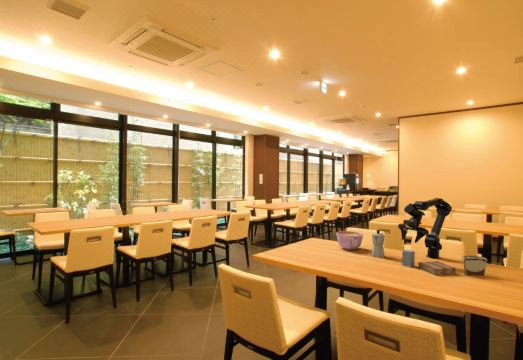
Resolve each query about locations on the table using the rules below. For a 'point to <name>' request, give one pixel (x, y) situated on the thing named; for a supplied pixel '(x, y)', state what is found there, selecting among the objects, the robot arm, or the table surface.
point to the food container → (474, 265)
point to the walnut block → (436, 268)
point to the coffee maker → (378, 245)
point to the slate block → (408, 258)
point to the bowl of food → (349, 239)
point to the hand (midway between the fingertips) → (408, 241)
